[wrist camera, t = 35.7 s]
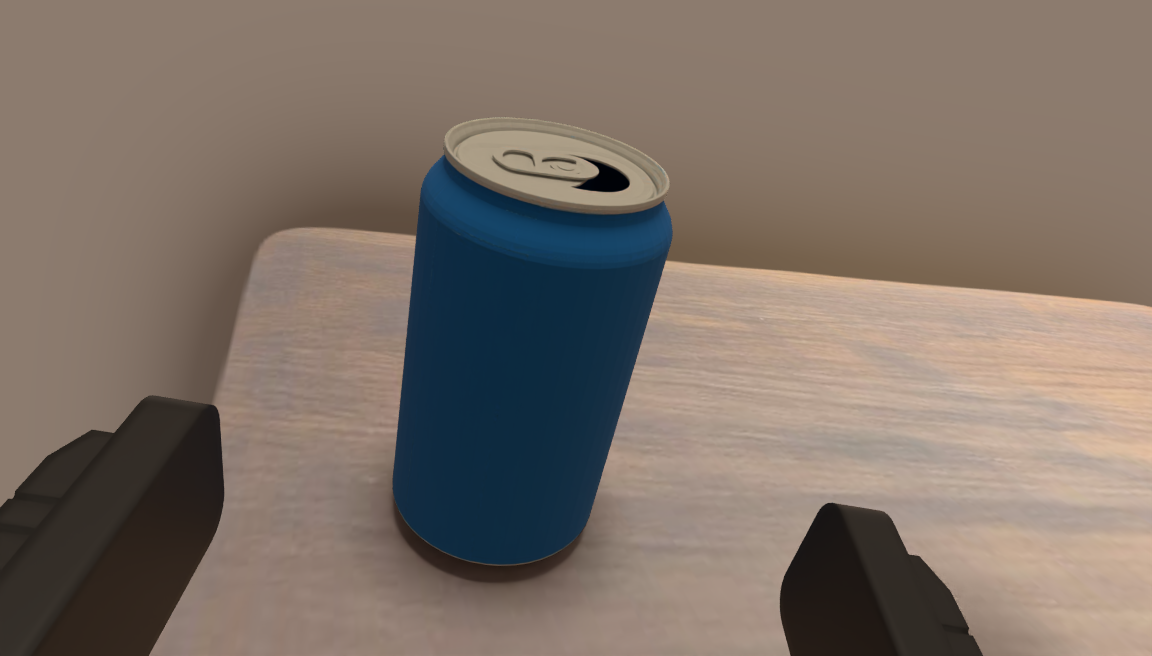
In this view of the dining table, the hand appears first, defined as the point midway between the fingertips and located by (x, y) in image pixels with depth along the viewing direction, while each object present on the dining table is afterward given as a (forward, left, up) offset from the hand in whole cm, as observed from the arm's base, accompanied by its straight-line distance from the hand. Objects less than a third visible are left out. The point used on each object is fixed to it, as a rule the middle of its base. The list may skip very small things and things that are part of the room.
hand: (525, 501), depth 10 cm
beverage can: (+3, +10, -11) cm, 15 cm away
